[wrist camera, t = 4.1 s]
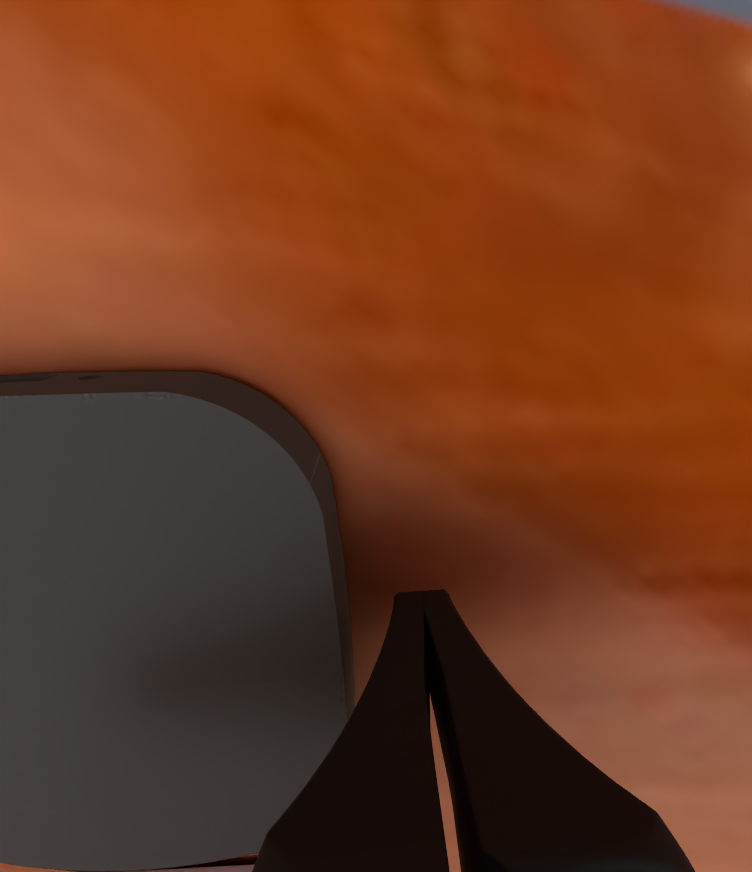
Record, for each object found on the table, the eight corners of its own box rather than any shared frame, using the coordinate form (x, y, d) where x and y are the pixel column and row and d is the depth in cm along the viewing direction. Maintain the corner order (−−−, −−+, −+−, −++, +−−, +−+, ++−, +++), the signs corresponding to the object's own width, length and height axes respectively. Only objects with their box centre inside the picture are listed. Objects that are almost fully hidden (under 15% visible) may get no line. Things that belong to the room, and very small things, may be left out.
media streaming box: (365, 771, 16) (362, 876, 13) (-42, 784, 16) (-129, 890, 14) (328, 355, 11) (311, 383, 8) (-251, 386, 12) (-453, 423, 9)
